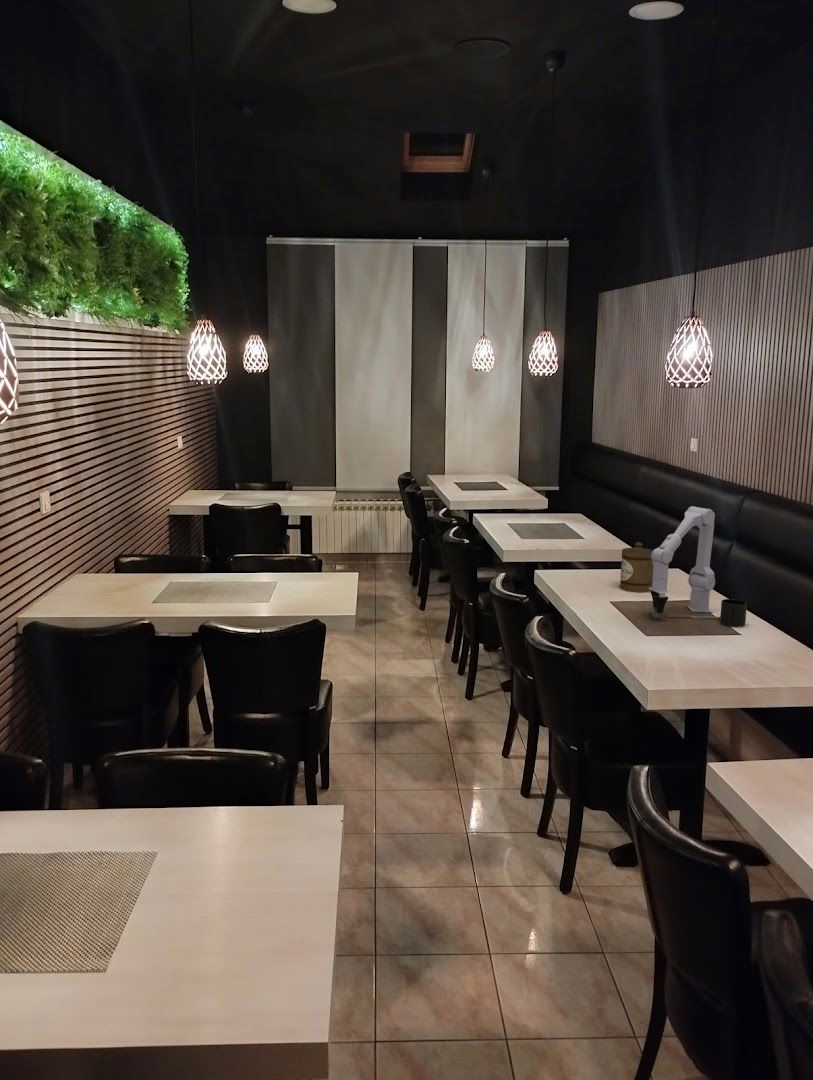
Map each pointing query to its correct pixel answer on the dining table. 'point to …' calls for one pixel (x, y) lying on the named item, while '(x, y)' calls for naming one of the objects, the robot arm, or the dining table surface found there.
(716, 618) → the wooden stick
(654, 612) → the die
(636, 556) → the wooden container
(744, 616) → the mug
